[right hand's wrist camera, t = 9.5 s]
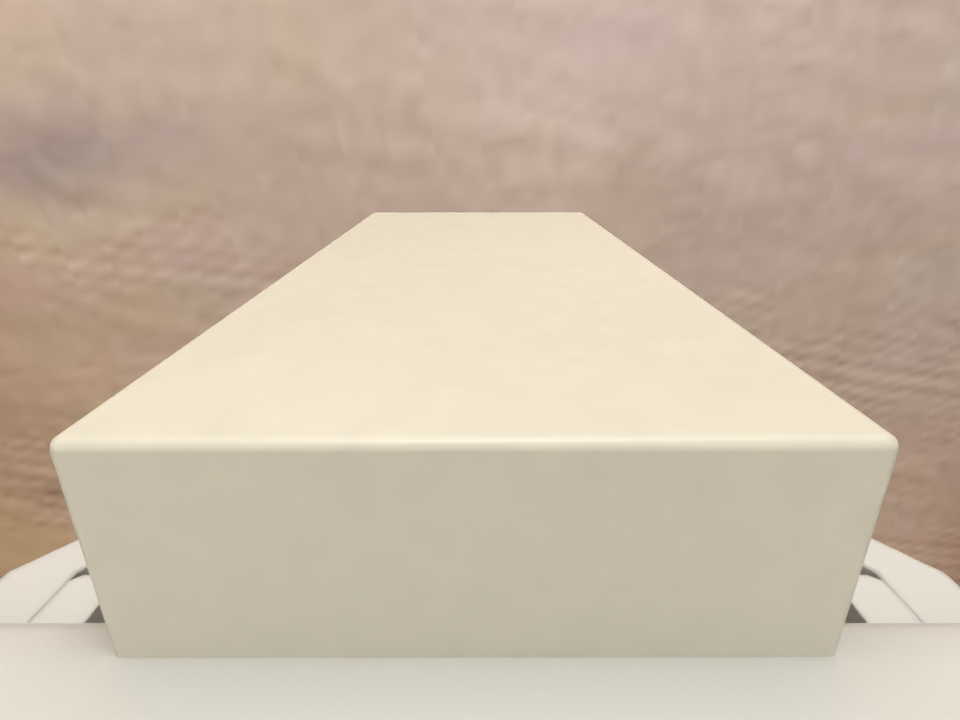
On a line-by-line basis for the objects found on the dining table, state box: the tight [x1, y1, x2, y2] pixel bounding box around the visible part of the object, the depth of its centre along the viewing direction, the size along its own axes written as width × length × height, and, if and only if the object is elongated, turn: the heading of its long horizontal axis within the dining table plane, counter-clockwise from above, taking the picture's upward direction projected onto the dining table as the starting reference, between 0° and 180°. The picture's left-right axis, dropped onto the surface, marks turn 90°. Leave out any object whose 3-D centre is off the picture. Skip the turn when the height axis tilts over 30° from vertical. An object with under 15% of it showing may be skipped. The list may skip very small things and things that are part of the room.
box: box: [50, 213, 899, 658], centre depth 14 cm, size 21×6×13 cm, turn 0°
